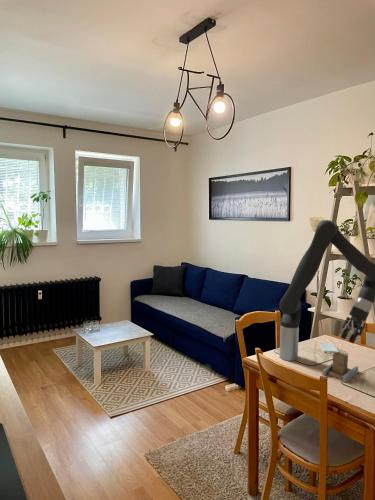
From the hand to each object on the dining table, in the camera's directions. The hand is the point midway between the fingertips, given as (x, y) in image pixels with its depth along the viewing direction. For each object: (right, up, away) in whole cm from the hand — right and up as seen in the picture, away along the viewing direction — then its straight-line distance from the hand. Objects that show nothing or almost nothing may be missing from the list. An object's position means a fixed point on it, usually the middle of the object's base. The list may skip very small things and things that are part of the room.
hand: (346, 340), depth 171 cm
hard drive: (+5, -14, +34) cm, 37 cm away
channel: (-2, -16, +3) cm, 17 cm away
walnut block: (-3, -17, +1) cm, 17 cm away
